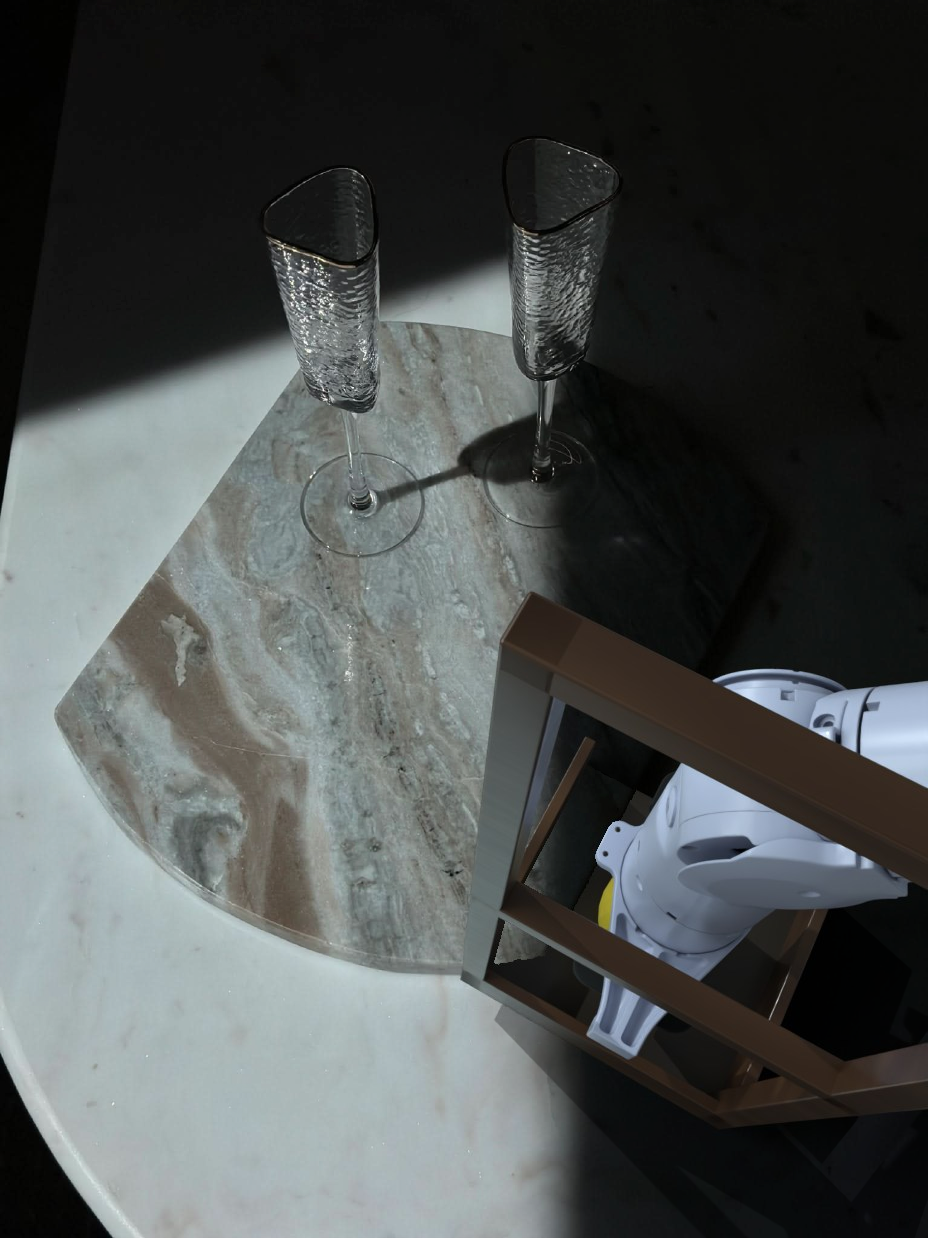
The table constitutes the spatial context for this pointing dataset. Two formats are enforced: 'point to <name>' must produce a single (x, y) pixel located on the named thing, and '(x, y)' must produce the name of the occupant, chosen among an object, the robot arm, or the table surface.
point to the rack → (688, 732)
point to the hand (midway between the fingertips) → (652, 923)
